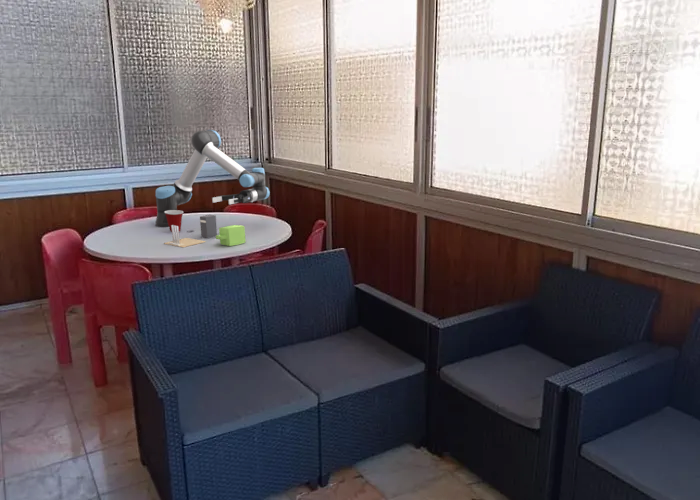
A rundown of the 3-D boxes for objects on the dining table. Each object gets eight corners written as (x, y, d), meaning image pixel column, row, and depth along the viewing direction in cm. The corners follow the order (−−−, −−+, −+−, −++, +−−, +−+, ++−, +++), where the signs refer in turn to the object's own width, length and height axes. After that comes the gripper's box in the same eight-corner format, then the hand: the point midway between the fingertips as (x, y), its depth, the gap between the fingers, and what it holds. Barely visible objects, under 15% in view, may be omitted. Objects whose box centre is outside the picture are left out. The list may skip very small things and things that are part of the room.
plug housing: (201, 237, 329) (199, 216, 326) (211, 235, 334) (209, 214, 332) (207, 238, 326) (205, 217, 323) (217, 236, 332) (215, 215, 329)
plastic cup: (179, 233, 340) (178, 213, 337) (162, 233, 342) (160, 212, 340) (188, 229, 351) (186, 209, 348) (171, 229, 353) (169, 209, 350)
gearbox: (240, 239, 324) (238, 222, 322) (252, 241, 318) (250, 224, 316) (213, 245, 311) (212, 227, 309) (225, 247, 304) (224, 229, 302)
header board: (163, 243, 316) (162, 224, 313) (186, 238, 327) (184, 220, 325) (183, 247, 307) (181, 228, 304) (205, 241, 318) (204, 223, 316)
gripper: (263, 203, 344) (236, 209, 327) (233, 200, 358) (206, 205, 342) (262, 191, 342) (235, 196, 325) (233, 188, 356) (205, 193, 340)
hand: (220, 201), depth 333 cm, fingers open, 13 cm apart
